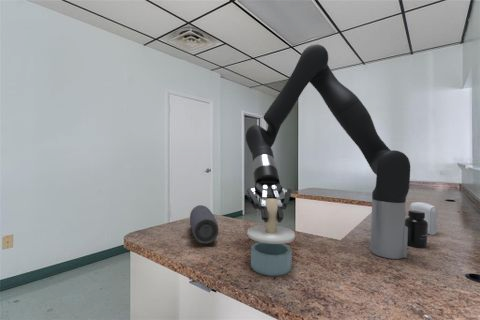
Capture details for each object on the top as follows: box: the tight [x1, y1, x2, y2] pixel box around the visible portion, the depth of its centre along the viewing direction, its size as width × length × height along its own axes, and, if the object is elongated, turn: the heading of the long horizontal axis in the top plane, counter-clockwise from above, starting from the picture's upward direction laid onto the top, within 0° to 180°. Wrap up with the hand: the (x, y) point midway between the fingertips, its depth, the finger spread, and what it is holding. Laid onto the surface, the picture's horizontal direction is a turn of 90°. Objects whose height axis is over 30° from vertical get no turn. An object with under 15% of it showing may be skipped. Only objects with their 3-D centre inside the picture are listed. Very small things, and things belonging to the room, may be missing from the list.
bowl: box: [250, 241, 293, 277], centre depth 68 cm, size 11×11×5 cm
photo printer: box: [409, 201, 438, 236], centre depth 105 cm, size 10×4×12 cm, turn 13°
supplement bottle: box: [405, 209, 429, 249], centre depth 88 cm, size 7×7×12 cm
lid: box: [247, 198, 296, 244], centre depth 67 cm, size 13×13×10 cm
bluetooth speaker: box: [189, 204, 219, 245], centre depth 91 cm, size 23×9×10 cm, turn 14°
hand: (273, 220), depth 65 cm, fingers closed on lid, 3 cm apart
